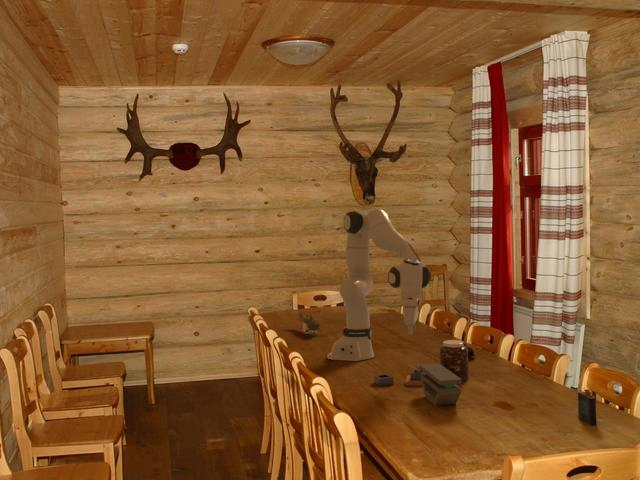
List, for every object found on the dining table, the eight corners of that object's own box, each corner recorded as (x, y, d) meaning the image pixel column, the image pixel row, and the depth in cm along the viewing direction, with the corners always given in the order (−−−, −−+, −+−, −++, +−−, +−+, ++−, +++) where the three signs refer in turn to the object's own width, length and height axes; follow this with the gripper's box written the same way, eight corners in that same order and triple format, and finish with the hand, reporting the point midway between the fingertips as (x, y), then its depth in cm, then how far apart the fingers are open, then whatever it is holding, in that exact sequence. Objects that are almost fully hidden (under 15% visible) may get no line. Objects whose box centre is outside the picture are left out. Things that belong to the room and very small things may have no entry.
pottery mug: (478, 361, 324) (470, 347, 321) (460, 370, 325) (452, 356, 323) (473, 349, 335) (465, 335, 333) (455, 358, 336) (447, 344, 334)
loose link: (379, 386, 287) (379, 378, 287) (374, 382, 293) (374, 375, 293) (393, 384, 289) (393, 377, 289) (387, 380, 295) (387, 373, 294)
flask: (576, 417, 238) (576, 385, 238) (584, 416, 239) (584, 385, 238) (591, 426, 229) (590, 393, 228) (599, 425, 230) (599, 392, 229)
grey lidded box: (420, 392, 276) (419, 364, 275) (439, 390, 277) (438, 363, 276) (441, 411, 251) (440, 380, 251) (462, 409, 252) (461, 379, 252)
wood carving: (306, 327, 424) (306, 308, 424) (325, 337, 391) (324, 317, 390) (292, 328, 422) (291, 310, 421) (310, 339, 388) (309, 318, 388)
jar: (470, 374, 299) (469, 339, 298) (466, 382, 288) (465, 345, 287) (442, 373, 303) (441, 338, 302) (437, 380, 292) (436, 344, 291)
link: (410, 380, 288) (410, 373, 288) (411, 376, 294) (411, 369, 294) (425, 380, 287) (425, 373, 287) (426, 376, 293) (426, 369, 293)
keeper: (405, 385, 287) (404, 368, 287) (407, 378, 297) (407, 362, 296) (430, 385, 285) (429, 368, 284) (432, 379, 294) (431, 362, 294)
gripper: (406, 295, 303) (406, 327, 304) (400, 302, 283) (400, 337, 284) (421, 295, 301) (421, 327, 302) (416, 303, 282) (416, 337, 283)
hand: (411, 332), depth 293 cm, fingers open, 8 cm apart
